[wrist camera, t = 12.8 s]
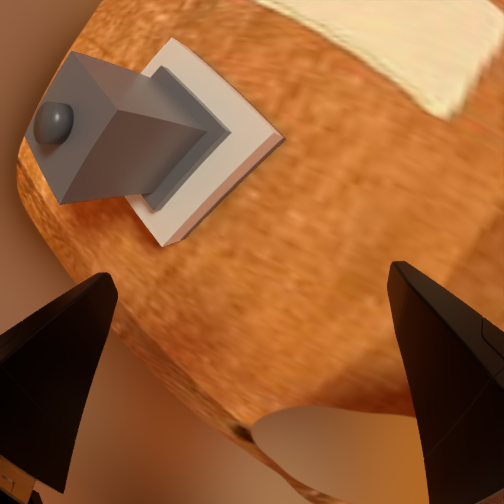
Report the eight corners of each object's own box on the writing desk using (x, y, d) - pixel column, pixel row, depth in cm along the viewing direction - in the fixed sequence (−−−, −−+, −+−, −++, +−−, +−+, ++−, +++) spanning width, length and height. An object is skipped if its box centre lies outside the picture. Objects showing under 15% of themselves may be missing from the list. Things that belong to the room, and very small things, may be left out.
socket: (286, 139, 18) (272, 131, 15) (185, 238, 22) (159, 248, 19) (193, 51, 19) (169, 35, 16) (115, 147, 23) (86, 145, 20)
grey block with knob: (244, 136, 18) (122, 100, 8) (177, 206, 21) (43, 234, 11) (183, 76, 19) (60, 24, 8) (128, 143, 21) (0, 139, 11)
